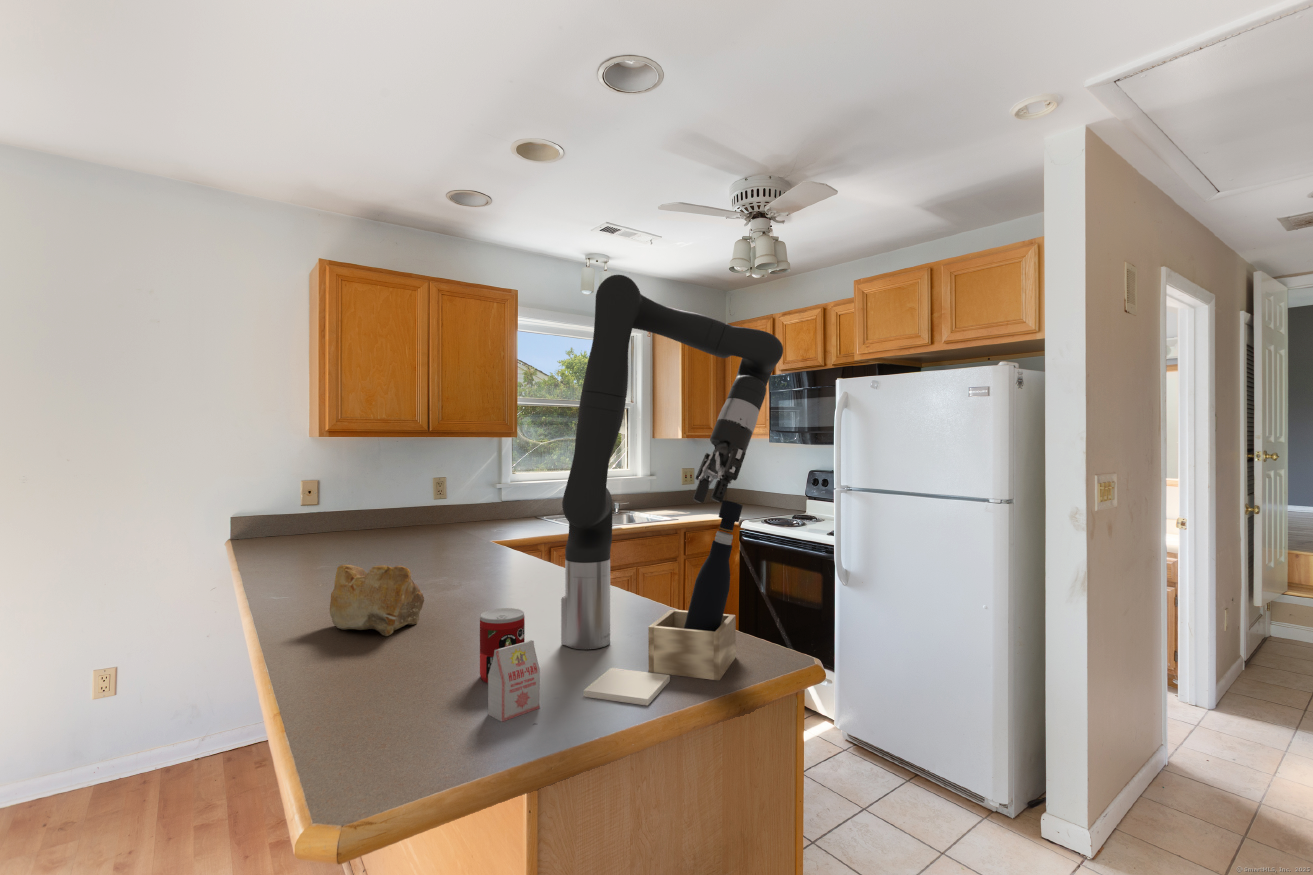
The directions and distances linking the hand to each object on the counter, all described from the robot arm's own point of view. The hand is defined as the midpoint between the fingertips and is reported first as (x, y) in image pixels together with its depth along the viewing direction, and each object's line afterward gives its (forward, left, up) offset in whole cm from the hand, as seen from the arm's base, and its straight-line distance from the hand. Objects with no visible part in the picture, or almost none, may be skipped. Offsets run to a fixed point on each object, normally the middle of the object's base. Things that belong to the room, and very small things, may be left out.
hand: (706, 500), depth 122 cm
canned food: (-31, -22, -30) cm, 49 cm away
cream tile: (-8, -20, -30) cm, 37 cm away
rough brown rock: (-73, -4, -30) cm, 79 cm away
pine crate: (-1, -5, -30) cm, 30 cm away
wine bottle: (-1, -5, -29) cm, 30 cm away
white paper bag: (-21, -34, -30) cm, 50 cm away
